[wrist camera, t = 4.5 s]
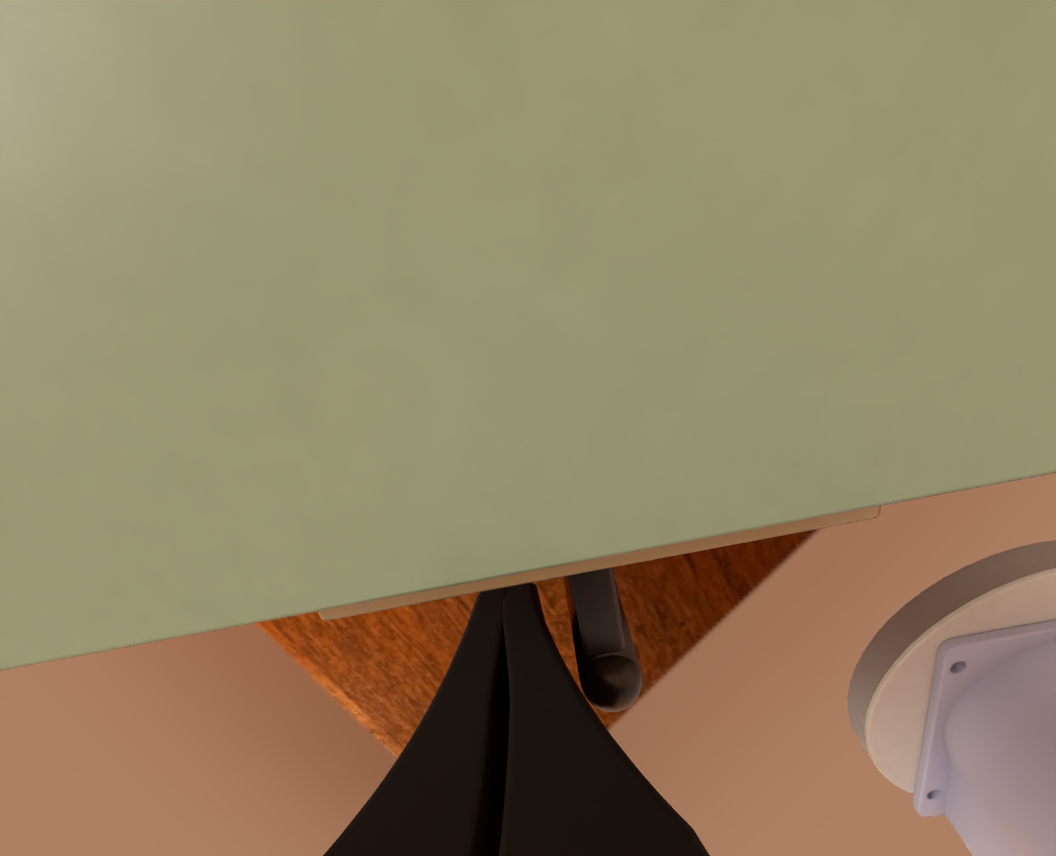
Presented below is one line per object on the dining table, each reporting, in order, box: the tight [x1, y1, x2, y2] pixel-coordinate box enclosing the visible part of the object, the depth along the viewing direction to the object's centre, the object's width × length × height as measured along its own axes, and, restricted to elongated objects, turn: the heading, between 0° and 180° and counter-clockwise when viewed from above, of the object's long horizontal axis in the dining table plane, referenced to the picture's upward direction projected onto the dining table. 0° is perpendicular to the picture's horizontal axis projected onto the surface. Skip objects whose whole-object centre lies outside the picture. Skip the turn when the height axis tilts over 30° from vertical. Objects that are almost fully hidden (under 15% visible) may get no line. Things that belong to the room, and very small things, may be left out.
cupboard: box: [0, 0, 1056, 671], centre depth 8 cm, size 11×14×9 cm
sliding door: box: [318, 506, 881, 712], centre depth 11 cm, size 6×7×7 cm
